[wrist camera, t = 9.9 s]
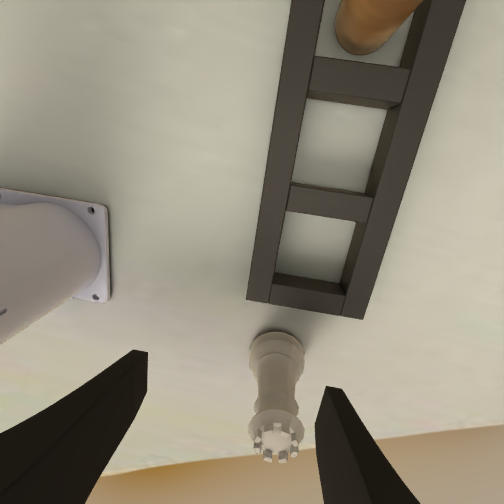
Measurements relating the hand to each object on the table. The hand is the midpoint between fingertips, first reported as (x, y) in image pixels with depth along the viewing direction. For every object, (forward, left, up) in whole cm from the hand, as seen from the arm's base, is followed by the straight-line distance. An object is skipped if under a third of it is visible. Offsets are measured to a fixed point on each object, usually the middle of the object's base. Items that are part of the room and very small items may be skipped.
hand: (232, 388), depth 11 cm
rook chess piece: (+3, -6, -11) cm, 12 cm away
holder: (+4, +10, -10) cm, 15 cm away
